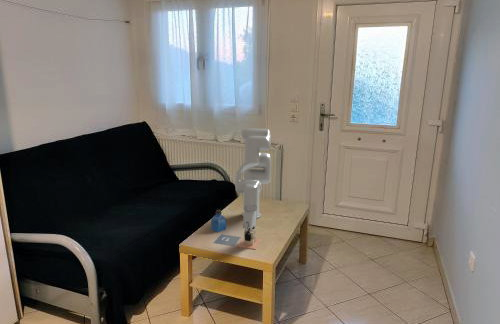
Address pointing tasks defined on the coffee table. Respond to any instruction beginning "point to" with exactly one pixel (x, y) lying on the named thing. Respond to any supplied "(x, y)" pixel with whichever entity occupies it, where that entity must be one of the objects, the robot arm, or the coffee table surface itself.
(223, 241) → the gray tile
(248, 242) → the maple block
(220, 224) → the perfume bottle
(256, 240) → the pad
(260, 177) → the robot arm
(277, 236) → the coffee table surface
